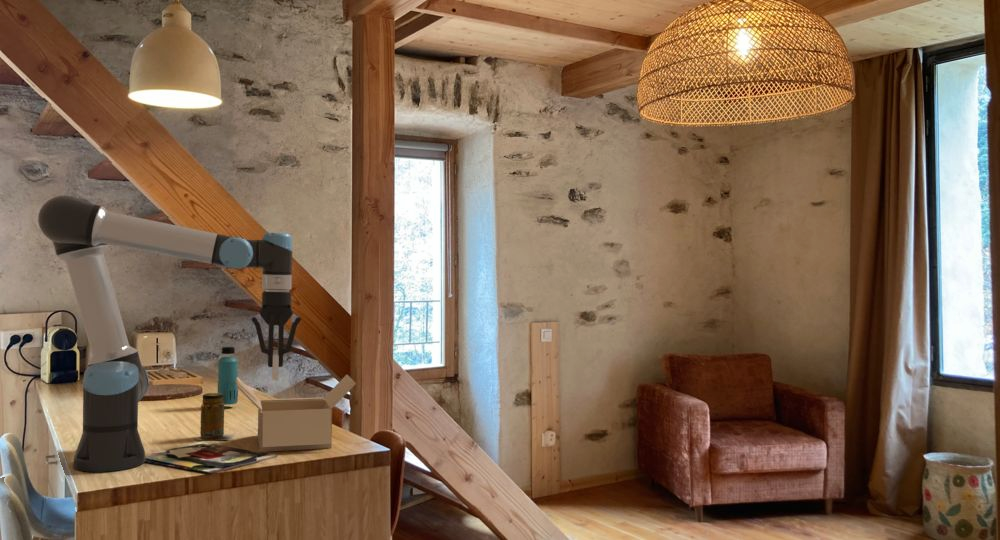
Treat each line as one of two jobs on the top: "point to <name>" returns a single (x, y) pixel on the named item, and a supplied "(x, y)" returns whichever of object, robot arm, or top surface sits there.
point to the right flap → (339, 391)
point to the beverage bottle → (228, 376)
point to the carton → (290, 406)
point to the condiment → (212, 418)
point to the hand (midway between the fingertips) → (275, 379)
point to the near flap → (296, 427)
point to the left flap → (248, 393)
